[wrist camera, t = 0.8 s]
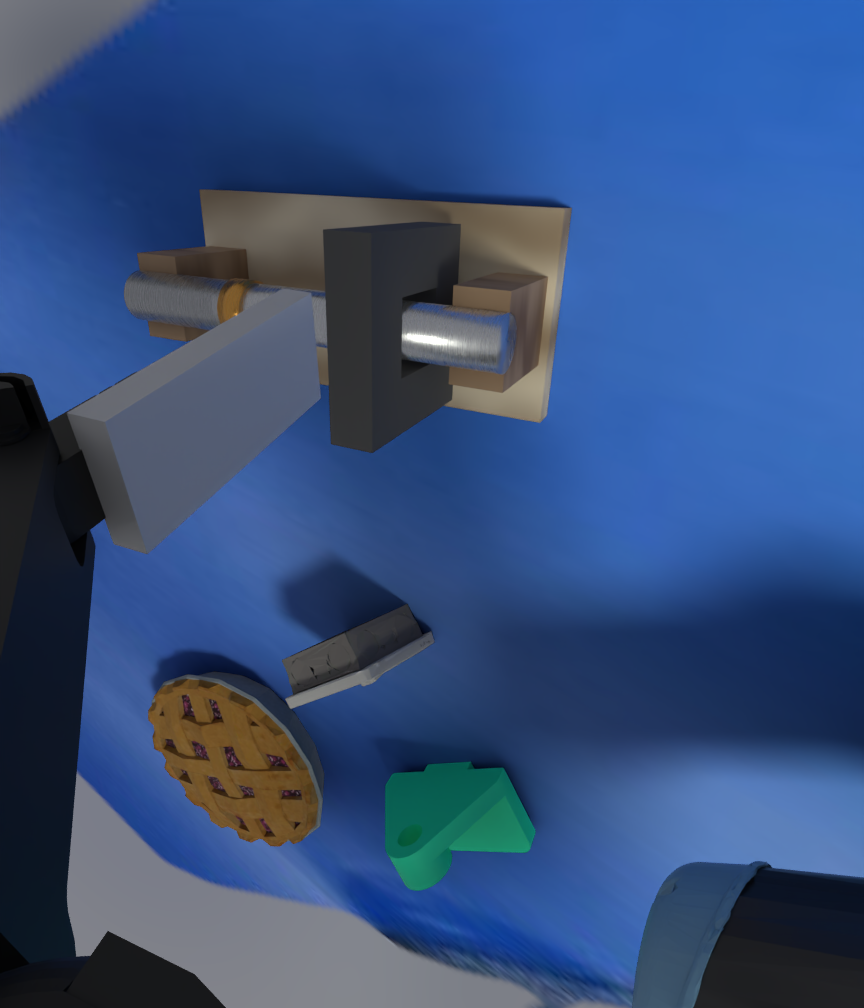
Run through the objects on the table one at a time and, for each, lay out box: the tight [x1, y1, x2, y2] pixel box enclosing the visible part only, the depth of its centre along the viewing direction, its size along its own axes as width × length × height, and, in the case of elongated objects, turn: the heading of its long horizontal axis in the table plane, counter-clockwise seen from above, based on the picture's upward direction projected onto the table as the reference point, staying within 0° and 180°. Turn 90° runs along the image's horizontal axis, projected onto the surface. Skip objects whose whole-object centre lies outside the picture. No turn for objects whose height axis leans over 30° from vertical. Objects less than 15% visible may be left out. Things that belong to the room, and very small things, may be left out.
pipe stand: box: [137, 190, 572, 423], centre depth 39 cm, size 12×25×8 cm, turn 88°
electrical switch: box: [282, 604, 434, 709], centre depth 51 cm, size 9×5×9 cm, turn 127°
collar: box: [323, 222, 461, 453], centre depth 34 cm, size 10×2×10 cm, turn 178°
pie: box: [148, 671, 324, 846], centre depth 68 cm, size 22×22×5 cm
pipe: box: [124, 270, 517, 374], centre depth 36 cm, size 3×24×3 cm, turn 88°
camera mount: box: [385, 762, 535, 891], centre depth 54 cm, size 12×8×10 cm, turn 118°
